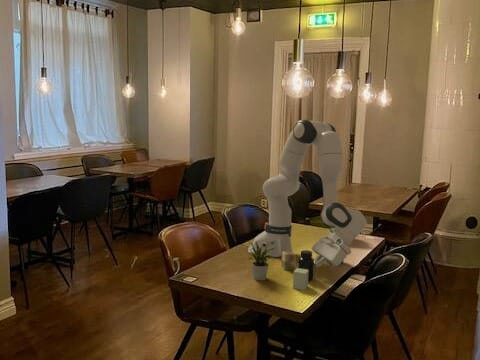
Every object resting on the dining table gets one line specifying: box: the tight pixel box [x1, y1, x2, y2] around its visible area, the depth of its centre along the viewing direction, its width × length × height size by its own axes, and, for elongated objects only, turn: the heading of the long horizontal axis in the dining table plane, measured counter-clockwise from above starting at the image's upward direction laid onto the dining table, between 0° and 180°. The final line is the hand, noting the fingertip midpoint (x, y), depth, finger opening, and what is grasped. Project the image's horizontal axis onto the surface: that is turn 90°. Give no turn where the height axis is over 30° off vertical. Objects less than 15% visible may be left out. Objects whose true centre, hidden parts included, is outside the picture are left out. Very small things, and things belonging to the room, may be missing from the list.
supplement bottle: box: [297, 249, 315, 282], centre depth 203 cm, size 7×7×12 cm
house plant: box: [247, 241, 275, 281], centre depth 203 cm, size 14×14×16 cm
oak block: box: [281, 250, 297, 271], centre depth 218 cm, size 5×5×7 cm
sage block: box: [292, 267, 309, 291], centre depth 194 cm, size 5×5×7 cm
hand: (315, 265), depth 205 cm, fingers closed
